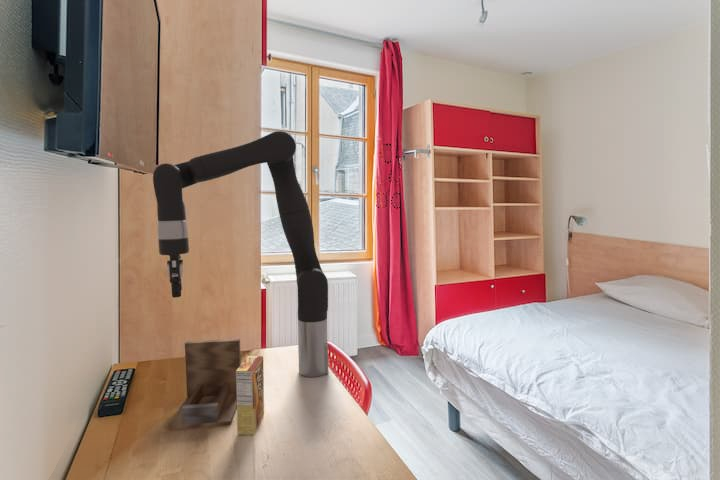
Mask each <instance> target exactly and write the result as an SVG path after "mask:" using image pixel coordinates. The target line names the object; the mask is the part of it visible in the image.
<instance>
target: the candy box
mask: <svg viewBox="0 0 720 480" xmlns="http://www.w3.org/2000/svg"><path fill="white" fill-rule="evenodd" d="M236 391H237V409H236V422H237V423H236V425H237V426H236V428H237V429H236V431H237V433H236V434H237V435H238V436H254V435H255V433H256V431H257V430H258V427H259V426H260V424H261V421H262V420H263V418H264V415H265V400H264V399H265V396H264V395H265V394H264V393H265V391H264V356H263V355H261V356H260V355H248V356H246V358H244V360H243V361H242V363H241V365H240V367H239V368H238V369H237V370H236Z"/></svg>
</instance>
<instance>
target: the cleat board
mask: <svg viewBox="0 0 720 480" xmlns="http://www.w3.org/2000/svg"><path fill="white" fill-rule="evenodd" d="M241 357H242V355H241V338H233V339H231V338H229V339H211V340H210V339H207V340H190V341H185V342H184V358H185V378H186V379H185V381H186V398H185V400H184V401H183V402H182V405H180V408H179V409H178V410H177V412H176V414H175V416H174V417H173V419H172V420H171V422H170V423H169V424H168V430H169V431H173V430H175V431H176V430H186V429H187V430H188V429H198V428H213V427H224V426H225V427H227V426H231V425H232V422H233V420H234V418H235V414H236V413H237V391H236V370H237V369H238V368H239V367H240V365H241V364H242V363H241V361H242V360H241V359H242V358H241Z"/></svg>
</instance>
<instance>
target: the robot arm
mask: <svg viewBox="0 0 720 480" xmlns="http://www.w3.org/2000/svg"><path fill="white" fill-rule="evenodd" d="M296 150H297V145H296V141H295V138H294V137H293V136H292V135H291V134H290V133H289V132H286V131H284V130H283V131H282V130H276V131H272V132H271V133H268V134H266V135H264V136H262V137H260V138H257V139H256V140H253V141H250V142H248V143H244V144H241V145H238V146H234V147H231V148H227V149H222V150H218V151H214V152H211V153H210V152H209V153H206V154H203V155H199V156H198V155H197V156H195V157H193V158H191V159H189V160H188V161H184V162H181V163H176V164H172V163H161V164H159V165H158V166H156V167H155V169H154V171H153V172H152V173H153V174H152V184H153V189H154V195H155V199H156V208H157V209H156V210H157V212H156V213H157V239H158V254H159V255H161V256H169V260H166V268H167V272H168V273H167V274H168V277H169V283H170V284H171V285H170V286H171V297H172V298H175V299H176V298H180V297H181V296H182V290H183V289H182V288H183V287H182V276H183V271H184V270H183V266H184V260H183V259H181V255H186V254H188V253H189V252H190V245H189V244H190V243H189V231H188V229H189V228H188V225H187V218H186V217H187V216H186V206H185V202H184V199H183V189H185V188H188V187H191V186H193V185H197V184H198V183H202V182H208V181H211V180H212V181H213V180H214V179H219V178H222V177H226V176H228V175H231V174H233V173H236V172H238V171H241V170H242V169H246V168H249V167H252V166H255V165H259V164H267V167H268V169H269V172H270V175H271V178H272V181H273V186H274V193H275V200H276V205H277V209H278V215H279V218H280V223H281V227H282V230H283V233H284V235H285V238H286V241H287V243H288V245H289V249H290V251H291V253H292V257H293V262H294V269H295V274H296V275H295V276H296V284H297V285H296V286H297V340H298V345H297V346H298V347H297V348H298V373H299V375H301V376H303V377H307V378H315V377H321V376H324V375H328V374H329V342H328V311H329V284H328V283H329V282H328V278H327V276H326V275H325V273H324V272H323V269H322V267H321V265H320V264H321V263H320V261H319V258H318V255H317V252H316V246H315V234H314V233H315V232H314V225H313V219H312V216H311V212H310V208H309V204H308V201H307V199H306V196H305V193H304V192H303V189H302V187H301V185H300V183H299V181H298V177H297V175H296V170H295V162H294V155H295V153H296Z"/></svg>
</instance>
